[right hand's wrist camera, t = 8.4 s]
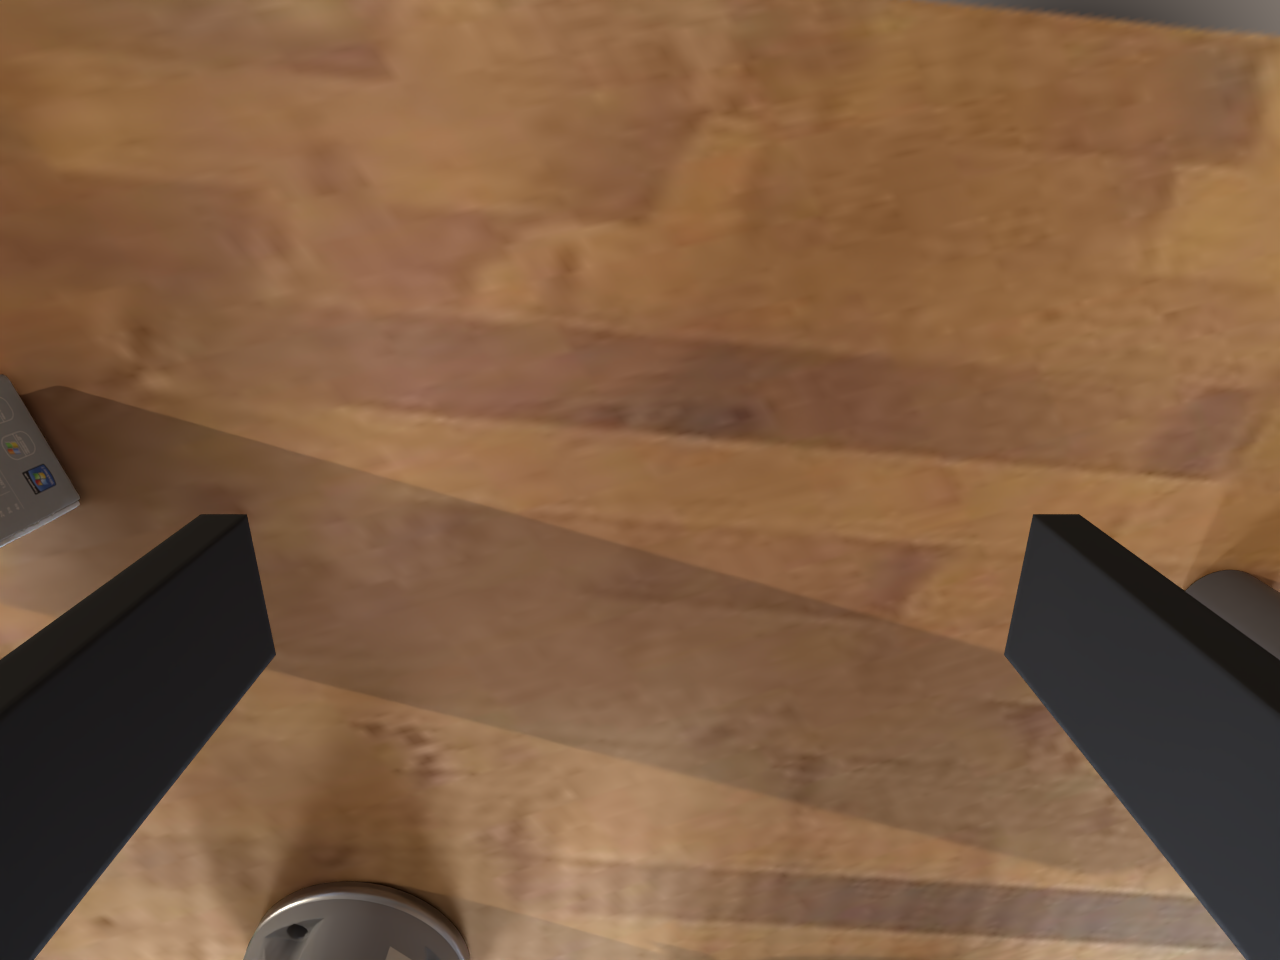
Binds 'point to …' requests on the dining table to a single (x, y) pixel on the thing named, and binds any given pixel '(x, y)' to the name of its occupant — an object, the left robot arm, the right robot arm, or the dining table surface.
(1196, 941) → the dining table surface
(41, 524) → the hard drive box
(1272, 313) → the dining table surface
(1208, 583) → the jar
